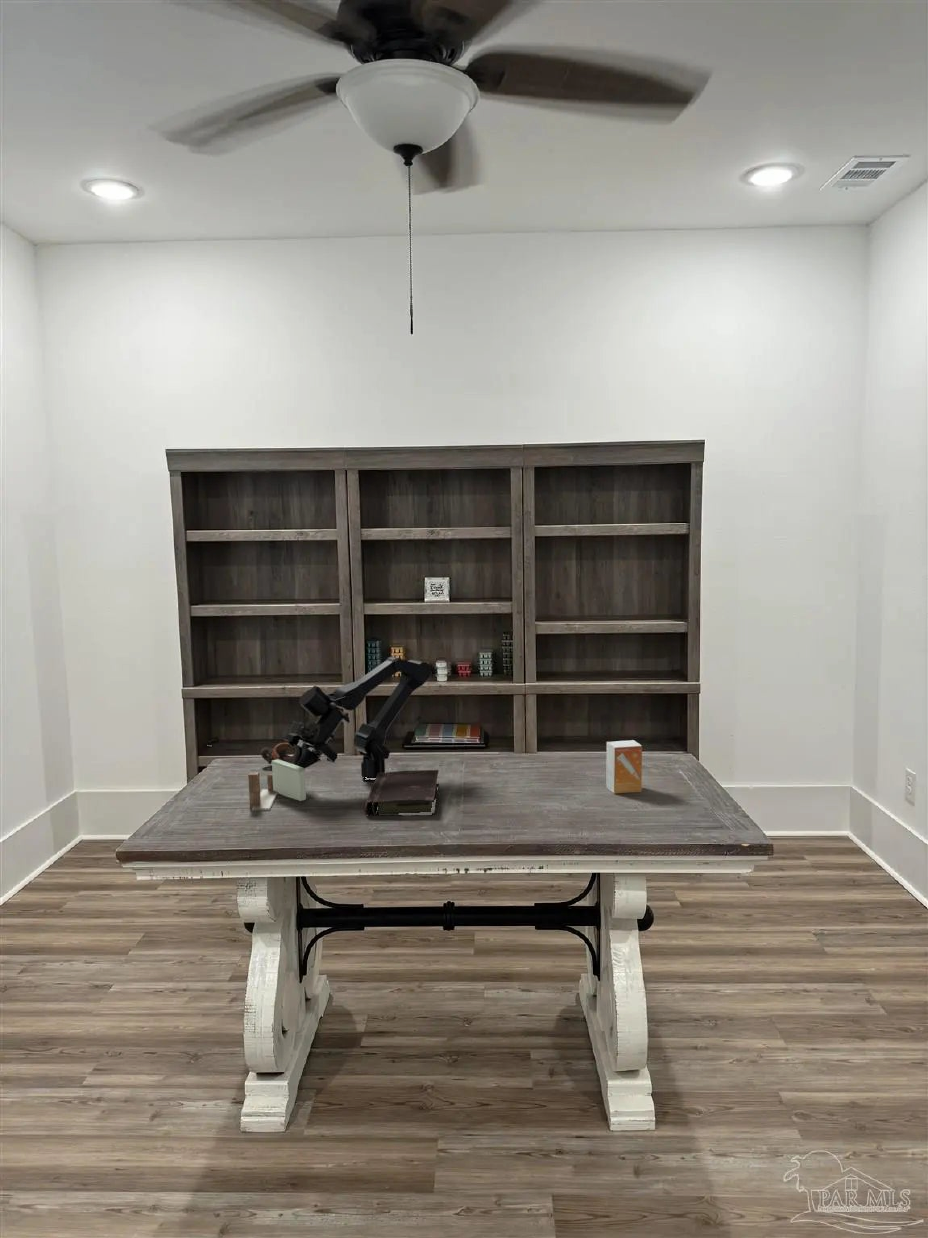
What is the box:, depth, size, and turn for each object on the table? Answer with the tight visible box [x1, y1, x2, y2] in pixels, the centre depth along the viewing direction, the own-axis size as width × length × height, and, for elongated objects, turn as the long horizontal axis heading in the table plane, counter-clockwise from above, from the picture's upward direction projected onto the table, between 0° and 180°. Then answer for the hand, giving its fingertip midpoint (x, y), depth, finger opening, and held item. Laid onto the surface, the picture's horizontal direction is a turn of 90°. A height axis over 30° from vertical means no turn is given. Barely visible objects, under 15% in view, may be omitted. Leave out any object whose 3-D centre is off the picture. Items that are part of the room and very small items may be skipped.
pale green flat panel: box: [271, 759, 307, 802], centre depth 236 cm, size 13×2×8 cm, turn 45°
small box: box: [605, 739, 643, 795], centre depth 238 cm, size 8×6×13 cm
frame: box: [247, 771, 279, 812], centre depth 235 cm, size 6×17×9 cm, turn 3°
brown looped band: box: [260, 742, 296, 765], centre depth 266 cm, size 12×10×8 cm
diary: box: [363, 769, 440, 816], centre depth 233 cm, size 19×25×5 cm
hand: (292, 773), depth 236 cm, fingers closed, pressing on pale green flat panel
